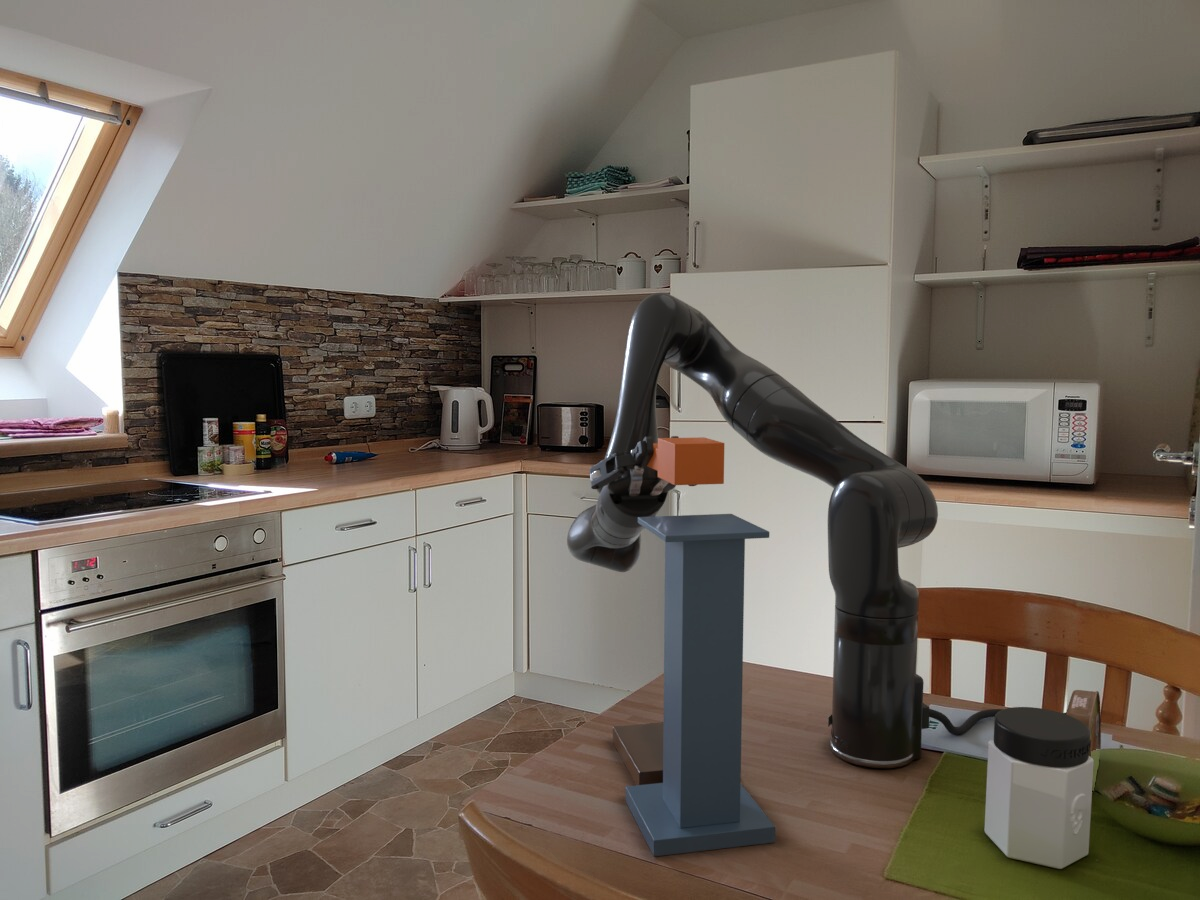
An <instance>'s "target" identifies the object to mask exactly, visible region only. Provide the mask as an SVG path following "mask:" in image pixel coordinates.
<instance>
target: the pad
mask: <svg viewBox="0 0 1200 900" xmlns="http://www.w3.org/2000/svg"><path fill="white" fill-rule="evenodd" d="M663 722H664V721H663ZM663 722H653V723H652V722H651V723H640V724H628V725H617V726H612V744H613V745H614V747H615V749H616V751H617V753H618V754H619V756H620V758H621V760H622V761H623V764H624V765H625V767H626V769H627V770H628V772H629V775H630V776H631V778H632V780H633V781H634V783H635V786H636V785H646V784H656V783H663Z"/></svg>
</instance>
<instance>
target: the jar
mask: <svg viewBox="0 0 1200 900" xmlns="http://www.w3.org/2000/svg"><path fill="white" fill-rule="evenodd" d="M1002 709H1003V710H1001V711H999V712H998V713H997V714H996V715H995V717H994V721H993V722H994V723H993V739H990V740H989V741H987V743H988V746H987V748H988V749H987V765H986V785H985V786H986V788H985V805H984V806H985V807H984V809H985V810H984V828H983V829H984V830H983V831H984V834H985V835H986V836H987V837H988V838H989V840H991V841H992V842H993V843H994V845H996V847H997V848H998V849H999V850H1000V851H1001V852H1002V853H1003V854H1004V855H1005V856H1006V858H1008V859H1013V860H1016V861H1022V862H1025V863H1030V864H1036V865H1039V866H1044V867H1049V868H1053V869H1057V870H1063V869H1065V868H1066V867H1068V866H1070V865H1072V864H1074V863H1076V862H1077V861H1079V860H1081V859H1083V858H1085V857H1087V856H1088V855H1089V854H1090V853H1089V852H1090V836H1091V822H1092V821H1091V818H1092V805H1093V804H1092V803H1093V802H1092V801H1093V792H1092V787H1093V770H1094V759H1093V758H1092V757H1090V756H1089V751H1090V745H1091V740H1090V730H1089V728H1088V727H1087V726H1086V725H1085V724H1084V723H1083V722H1081V721H1080V720H1078V719H1076V718H1074V717H1072V716H1069V715H1066V714H1063V713H1064V712H1059V711H1056V710H1052V709H1048V708H1041V707H1031V706H1013V707H1008V708H1007V707H1006V708H1002Z"/></svg>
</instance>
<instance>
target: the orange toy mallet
mask: <svg viewBox="0 0 1200 900" xmlns="http://www.w3.org/2000/svg"><path fill="white" fill-rule="evenodd" d="M653 447H654V448H653V449H654V454H653V456H652V458H651V460H650V461H649V463H648V465H647V466H648V467H650V468H652V469H654V470H657V471H658V477H659V478H661V479H663V480H665V481H667V482H669V483H671V484H673V485H676V486H688V485H696V486H698V485H700V486H701V485H723V484H725V442H723V441H718V440H715V439H711V438H707V437H704V436H703V437H679V438H671V437H658V443H653Z"/></svg>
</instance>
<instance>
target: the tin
mask: <svg viewBox="0 0 1200 900" xmlns="http://www.w3.org/2000/svg"><path fill="white" fill-rule="evenodd" d="M1066 712H1067V713H1066ZM1066 712H1065V713H1066V715H1069V716H1072V717H1074V718H1076V719H1078V720H1080V721H1081V722H1083V723H1084V724H1085V725H1086V726H1087V727H1088V728H1089V730H1090V740H1091V745H1090V751H1089V756H1090V757H1091V751H1093V750H1096V749H1101V748H1102V725H1101V724H1102V718H1101V717H1102V716H1101V697H1100V692H1099V691H1098V690H1095V691H1090V690H1082V689H1075V690H1073V691H1072V693H1071V696H1070V699H1069V701H1068V706H1067V709H1066Z"/></svg>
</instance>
